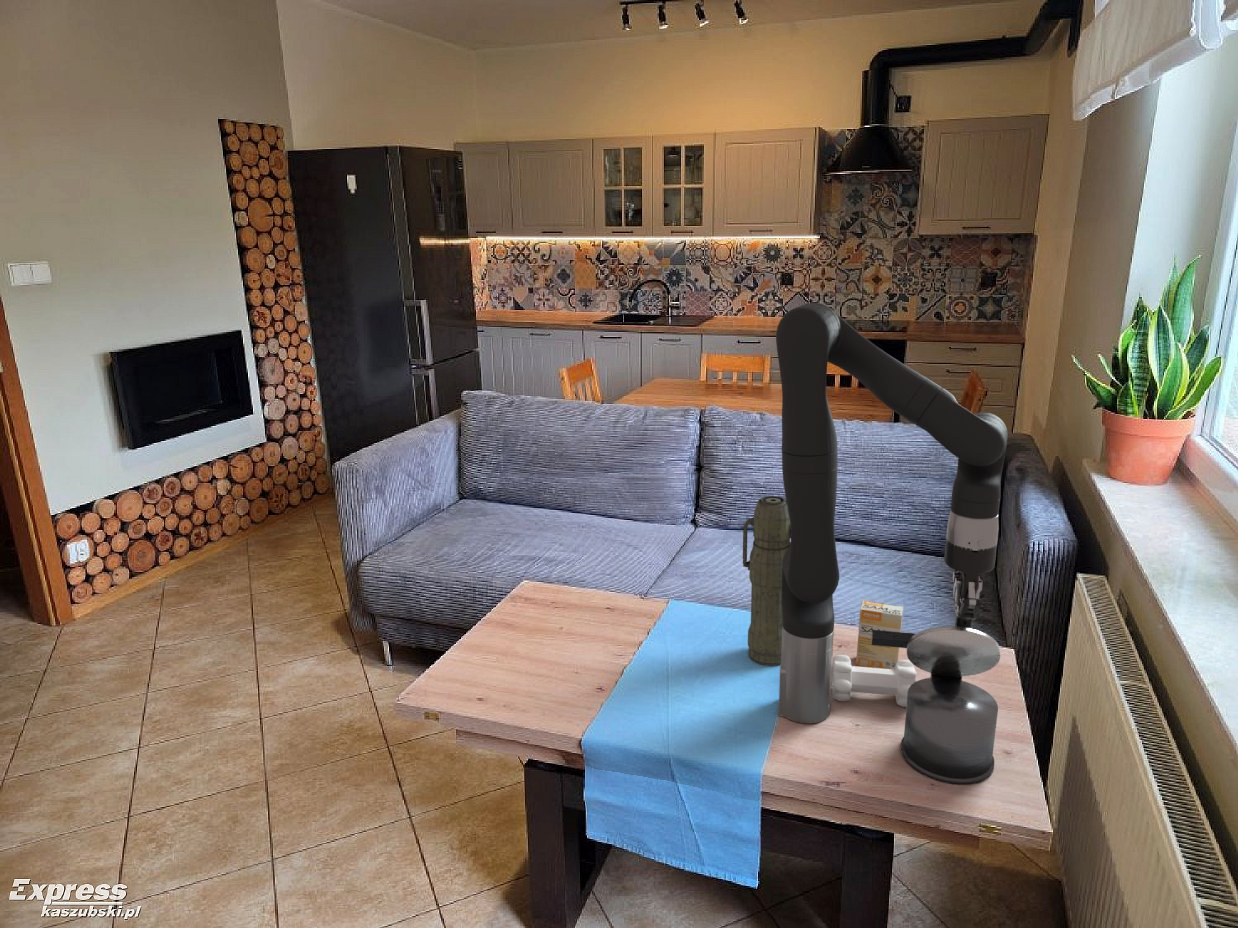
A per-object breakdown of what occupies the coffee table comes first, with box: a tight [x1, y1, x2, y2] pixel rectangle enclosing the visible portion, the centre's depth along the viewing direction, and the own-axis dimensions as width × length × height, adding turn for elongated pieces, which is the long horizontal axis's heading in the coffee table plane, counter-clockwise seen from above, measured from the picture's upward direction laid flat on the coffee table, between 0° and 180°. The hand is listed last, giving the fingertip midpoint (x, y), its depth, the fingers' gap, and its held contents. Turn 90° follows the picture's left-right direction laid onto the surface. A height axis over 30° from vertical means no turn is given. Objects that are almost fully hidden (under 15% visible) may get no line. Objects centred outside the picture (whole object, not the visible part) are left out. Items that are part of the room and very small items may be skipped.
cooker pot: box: [900, 674, 999, 786], centre depth 137 cm, size 15×16×11 cm
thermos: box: [742, 495, 791, 668], centre depth 167 cm, size 9×12×35 cm
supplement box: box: [855, 600, 904, 670], centre depth 166 cm, size 8×5×13 cm, turn 68°
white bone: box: [831, 654, 918, 708], centre depth 155 cm, size 15×9×8 cm, turn 78°
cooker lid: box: [872, 625, 1001, 679], centre depth 139 cm, size 20×15×3 cm
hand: (961, 634), depth 135 cm, fingers closed
